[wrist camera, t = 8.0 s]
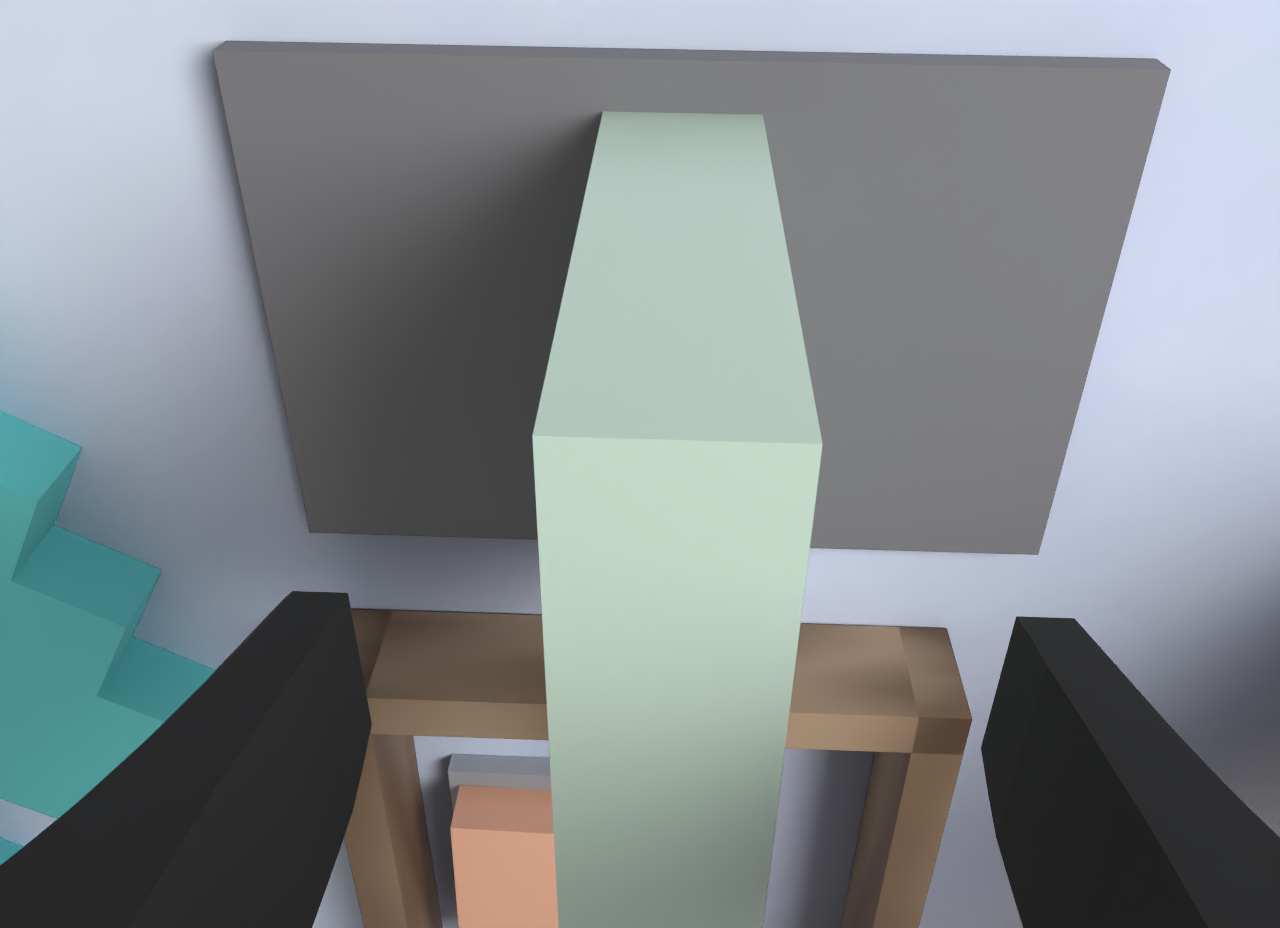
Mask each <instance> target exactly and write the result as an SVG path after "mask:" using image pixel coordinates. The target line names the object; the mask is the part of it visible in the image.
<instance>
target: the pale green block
mask: <svg viewBox="0 0 1280 928" xmlns="http://www.w3.org/2000/svg"><path fill="white" fill-rule="evenodd" d="M532 438H533V457H534V475H535V494H536V512H537V531H538V550H539V568H540V587H541V606H542V624H543V643H544V662H545V680H546V699H547V718H548V736H549V755H550V773H551V792H552V811H553V829H554V848H555V867H556V885H557V904H558V923H559V928H763V922H764V914H765V906H766V898H767V889H768V881H769V873H770V865H771V857H772V849H773V841H774V833H775V825H776V817H777V809H778V801H779V793H780V784H781V776H782V768H783V760H784V752H785V744H786V736H787V728H788V720H789V712H790V704H791V696H792V687H793V679H794V671H795V663H796V655H797V647H798V639H799V631H800V623H801V615H802V607H803V599H804V591H805V582H806V574H807V566H808V558H809V550H810V542H811V534H812V526H813V518H814V510H815V502H816V494H817V485H818V477H819V469H820V461H821V453H822V445H823V444H822V438H821V433H820V427H819V422H818V416H817V411H816V405H815V400H814V394H813V389H812V383H811V378H810V372H809V367H808V361H807V356H806V350H805V345H804V339H803V334H802V328H801V322H800V317H799V311H798V306H797V300H796V295H795V289H794V284H793V278H792V273H791V267H790V262H789V256H788V251H787V245H786V240H785V234H784V229H783V223H782V218H781V212H780V207H779V201H778V196H777V190H776V185H775V179H774V174H773V168H772V163H771V157H770V152H769V146H768V141H767V135H766V130H765V124H764V119H763V115H750V114H703V113H656V112H609V111H603V113H602V118H601V122H600V127H599V131H598V136H597V141H596V145H595V150H594V154H593V159H592V164H591V168H590V173H589V178H588V182H587V187H586V191H585V196H584V201H583V205H582V210H581V214H580V219H579V224H578V228H577V233H576V237H575V242H574V247H573V251H572V256H571V260H570V265H569V270H568V274H567V279H566V283H565V288H564V293H563V297H562V302H561V306H560V311H559V316H558V320H557V325H556V329H555V334H554V339H553V343H552V348H551V353H550V357H549V362H548V366H547V371H546V376H545V380H544V385H543V389H542V394H541V399H540V403H539V408H538V412H537V417H536V422H535V426H534V431H533V435H532Z"/></svg>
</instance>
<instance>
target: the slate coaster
mask: <svg viewBox="0 0 1280 928" xmlns="http://www.w3.org/2000/svg"><path fill="white" fill-rule="evenodd" d="M448 778H449V786H450V794H451V802H452V810H453V814H454V809H455V804H456V800H457V795H458V791H459V786H460V785H468V786H485V787H502V788H518V789H535V790H550V791H551V773H550V758H546V757H521V756H496V755H470V754H452V755H451V759H450V763H449V768H448Z"/></svg>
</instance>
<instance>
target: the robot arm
mask: <svg viewBox="0 0 1280 928" xmlns="http://www.w3.org/2000/svg"><path fill="white" fill-rule="evenodd" d="M371 726H372V722H371V717H370V711H369V706H368V700H367V695H366V690H365V684H364V679H363V673H362V668H361V662H360V657H359V651H358V646H357V641H356V635H355V630H354V624H353V619H352V613H351V608H350V603H349V597H348V593H329V592H301V591H292V592H291V593H290V594H289V595H288V596H287V597H286V598H285V599H283V601H282V602H281V603H280V604H279V605H278V606H277V607H276V608H275V609H274V610H273V611H272V612H271V613H270V614H269V615H268V616H267V617H266V618H265V619H264V620H263V621H262V622H261V623H260V624H259V626H258V627H257V628H256V629H255V630H254V631H253V632H252V633H251V634H250V635H249V636H248V637H247V638H246V639H245V640H244V641H243V642H242V643H241V645H240V646H239V647H238V648H237V649H236V650H235V651H234V652H233V653H232V654H231V655H230V656H229V657H228V658H227V659H226V660H225V661H224V662H223V663H222V664H221V665H220V666H219V667H218V668H217V670H216V671H215V672H214V673H213V674H212V675H211V676H210V677H209V678H208V679H207V680H206V681H205V682H204V683H203V684H202V685H201V686H200V687H199V688H198V689H197V690H196V691H195V692H194V693H193V694H192V695H191V696H190V697H189V698H188V699H187V700H186V701H185V702H184V703H183V704H182V705H181V706H180V707H179V708H178V709H177V710H176V711H175V712H174V713H173V714H172V715H171V716H170V717H169V718H168V719H167V720H166V721H165V722H164V723H163V724H162V725H161V726H160V727H159V728H158V729H157V730H156V731H155V732H154V733H153V734H152V735H150V736H149V737H148V738H147V739H146V740H145V741H144V742H143V743H142V744H141V745H140V746H139V747H138V748H137V749H136V750H134V751H133V752H132V753H131V754H130V755H129V756H128V757H127V758H126V759H125V760H123V761H122V762H121V763H120V764H119V765H118V766H117V767H116V768H115V769H114V770H112V771H111V772H110V773H109V774H108V775H107V776H106V777H105V778H104V779H103V780H101V781H100V782H99V783H98V784H97V785H96V786H95V787H94V788H93V789H92V790H90V791H89V792H88V793H87V794H86V795H85V796H84V797H83V798H82V799H80V800H79V801H78V802H77V803H76V804H75V805H74V806H72V807H71V808H70V809H69V810H68V811H66V812H65V813H64V814H63V815H62V816H61V817H59V818H58V819H57V820H56V821H55V822H53V823H52V824H51V825H50V826H49V827H47V828H46V829H45V830H44V831H43V832H41V833H40V834H39V835H38V836H36V837H35V838H34V839H33V840H32V841H30V842H29V843H28V844H27V845H25V846H24V847H23V848H21V849H20V850H19V851H18V852H16V853H15V854H14V855H13V856H11V857H10V858H9V859H7V860H6V861H5V862H4V863H2V864H1V865H0V928H312V926H313V923H314V920H315V918H316V915H317V912H318V909H319V906H320V904H321V901H322V898H323V895H324V892H325V890H326V887H327V884H328V881H329V878H330V876H331V873H332V870H333V867H334V864H335V861H336V858H337V856H338V853H339V850H340V847H341V844H342V841H343V838H344V835H345V833H346V830H347V827H348V824H349V821H350V818H351V815H352V812H353V808H354V804H355V800H356V795H357V791H358V787H359V782H360V778H361V774H362V769H363V765H364V760H365V755H366V750H367V745H368V741H369V736H370V731H371ZM981 751H982V757H983V763H984V770H985V776H986V782H987V788H988V795H989V800H990V806H991V811H992V817H993V822H994V827H995V833H996V838H997V841H998V845H999V848H1000V852H1001V855H1002V859H1003V862H1004V865H1005V869H1006V872H1007V875H1008V879H1009V882H1010V885H1011V889H1012V892H1013V895H1014V899H1015V902H1016V905H1017V909H1018V912H1019V915H1020V919H1021V922H1022V925H1023V928H1280V837H1278V836H1277V835H1276V834H1275V833H1274V832H1273V831H1272V830H1271V829H1270V828H1269V827H1268V826H1267V825H1266V824H1265V823H1264V822H1263V821H1262V820H1261V819H1260V818H1259V817H1258V816H1256V815H1255V814H1254V813H1253V812H1252V811H1251V810H1250V809H1249V808H1248V807H1247V806H1246V805H1245V804H1244V803H1243V802H1242V801H1241V800H1240V799H1239V798H1238V797H1237V796H1236V795H1235V794H1234V793H1233V792H1232V791H1231V790H1230V789H1229V788H1228V787H1227V786H1226V785H1225V784H1224V783H1223V782H1222V781H1221V780H1220V778H1219V777H1218V776H1217V775H1216V774H1215V773H1214V772H1213V771H1212V770H1211V769H1210V768H1209V767H1208V766H1207V765H1206V764H1205V763H1204V762H1203V761H1202V760H1201V758H1200V757H1199V756H1198V755H1197V754H1196V753H1195V752H1194V751H1193V750H1192V749H1191V748H1190V747H1189V746H1188V745H1187V744H1186V743H1185V742H1184V741H1183V740H1182V738H1181V737H1180V736H1179V735H1178V734H1177V733H1176V732H1175V731H1174V730H1173V729H1172V728H1171V726H1170V725H1169V724H1168V723H1167V722H1166V721H1165V720H1164V719H1163V718H1162V717H1161V715H1160V714H1159V713H1158V712H1157V711H1156V710H1155V709H1154V708H1153V707H1152V705H1151V704H1150V703H1149V702H1148V701H1147V700H1146V699H1145V698H1144V696H1143V695H1142V694H1141V693H1140V692H1139V691H1138V690H1137V689H1136V688H1135V686H1134V685H1133V684H1132V683H1131V682H1130V681H1129V680H1128V678H1127V677H1126V676H1125V675H1124V674H1123V673H1122V672H1121V671H1120V669H1119V668H1118V667H1117V666H1116V665H1115V664H1114V663H1113V661H1112V660H1111V659H1110V658H1109V657H1108V656H1107V655H1106V654H1105V652H1104V651H1103V650H1102V649H1101V648H1100V647H1099V646H1098V645H1097V643H1096V642H1095V641H1094V640H1093V639H1092V638H1091V637H1090V636H1089V634H1088V633H1087V632H1086V631H1085V630H1084V629H1083V628H1082V627H1081V625H1080V624H1079V623H1078V622H1077V621H1076V620H1075V619H1072V618H1043V617H1016V620H1015V624H1014V627H1013V631H1012V635H1011V639H1010V642H1009V646H1008V650H1007V653H1006V657H1005V661H1004V664H1003V668H1002V672H1001V676H1000V679H999V683H998V687H997V690H996V694H995V698H994V702H993V705H992V709H991V713H990V716H989V720H988V724H987V728H986V731H985V735H984V739H983V742H982V746H981Z"/></svg>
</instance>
